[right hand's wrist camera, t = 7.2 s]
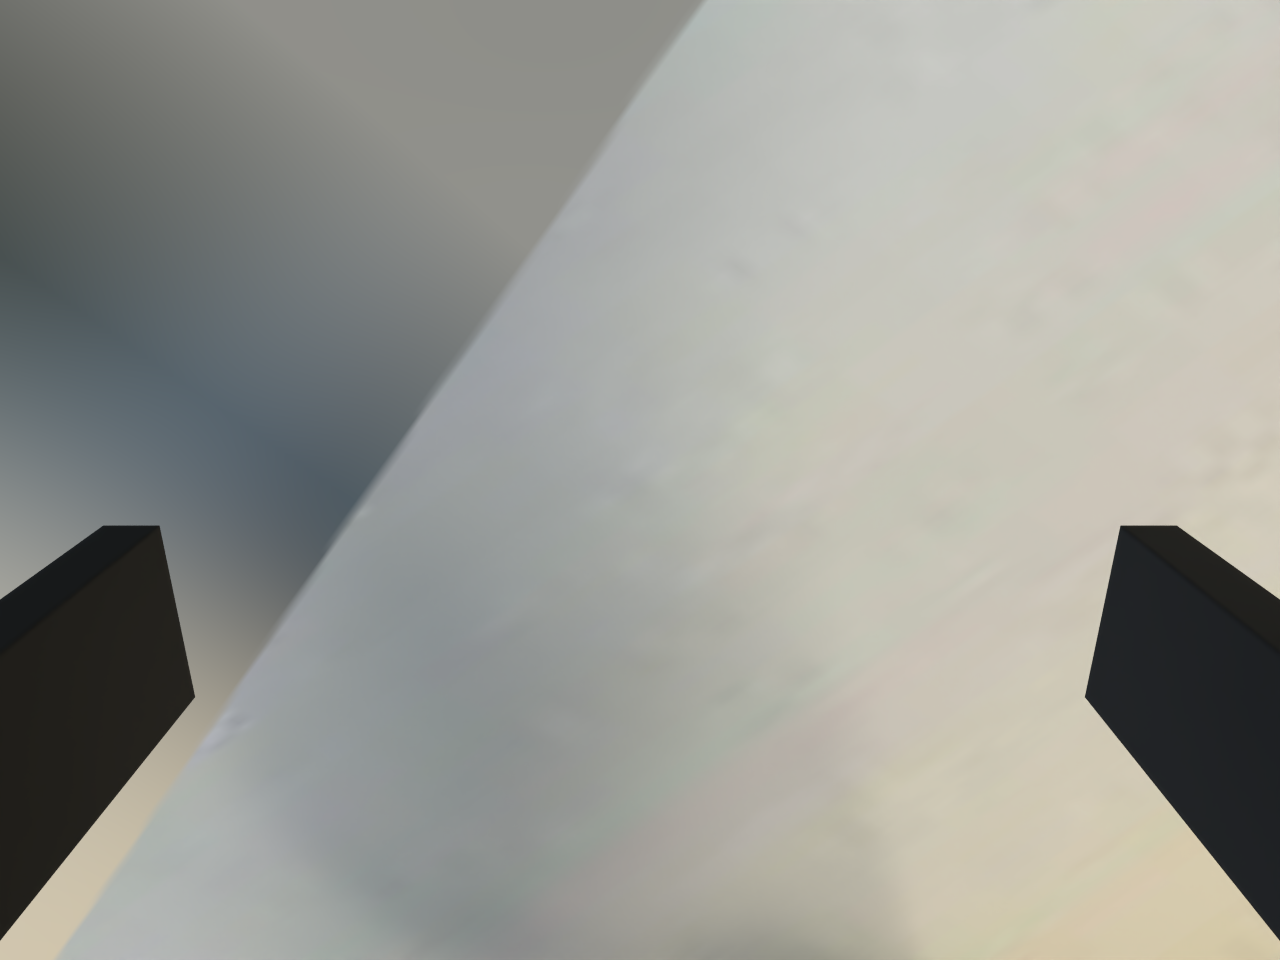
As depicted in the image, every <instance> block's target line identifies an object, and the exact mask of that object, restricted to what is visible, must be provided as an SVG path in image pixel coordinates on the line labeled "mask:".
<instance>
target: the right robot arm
mask: <svg viewBox="0 0 1280 960" xmlns="http://www.w3.org/2000/svg"><path fill="white" fill-rule="evenodd" d="M194 698H195V695H194V690H193V685H192V680H191V675H190V670H189V666H188V661H187V656H186V651H185V646H184V642H183V637H182V632H181V627H180V622H179V617H178V613H177V608H176V603H175V598H174V594H173V589H172V584H171V579H170V574H169V569H168V565H167V560H166V555H165V550H164V545H163V540H162V536H161V531H160V526H102V527H101V528H99V529H98V530H97V531H95V532H94V533H92V534H91V535H90V536H88V537H87V538H85V539H84V540H83V541H81V542H80V543H79V544H77V545H76V546H74V547H73V548H72V549H70V550H69V551H67V552H66V553H64V554H63V555H62V556H60V557H59V558H58V559H56V560H55V561H53V562H52V563H51V564H49V565H48V566H46V567H45V568H44V569H42V570H41V571H39V572H38V573H37V574H35V575H34V576H32V577H31V578H30V579H28V580H27V581H25V582H24V583H23V584H21V585H20V586H18V587H17V588H16V589H14V590H13V591H12V592H10V593H9V594H7V595H6V596H5V597H3V598H2V599H0V940H1V939H2V938H3V936H4V935H5V934H6V933H7V931H8V930H9V929H10V928H11V926H12V925H13V924H14V923H15V921H16V920H17V919H18V918H19V916H20V915H21V914H22V913H23V911H24V910H25V909H26V908H27V906H28V905H29V904H30V903H31V901H32V900H33V899H34V898H35V896H36V895H37V894H38V893H39V891H40V890H41V889H42V888H43V886H44V885H45V884H46V883H47V881H48V880H49V879H50V878H51V876H52V875H53V874H54V873H55V871H56V870H57V869H58V868H59V866H60V865H61V864H62V863H63V861H64V860H65V859H66V858H67V856H68V855H69V854H70V853H71V851H72V850H73V849H74V848H75V846H76V845H77V844H78V843H79V841H80V840H81V839H82V838H83V836H84V835H85V834H86V833H87V831H88V830H89V829H90V828H91V826H92V825H93V824H94V823H95V821H96V820H97V819H98V818H99V816H100V815H101V814H102V813H103V811H104V810H105V809H106V808H107V806H108V805H109V804H110V803H111V801H112V800H113V799H114V798H115V796H116V795H117V794H118V793H119V791H120V790H121V789H122V788H123V786H124V785H125V784H126V783H127V781H128V780H129V779H130V778H131V776H132V775H133V774H134V773H135V771H136V770H137V769H138V768H139V766H140V765H141V764H142V763H143V761H144V760H145V759H146V758H147V756H148V755H149V754H150V753H151V751H152V750H153V749H154V748H155V746H156V745H157V744H158V743H159V741H160V740H161V739H162V738H163V736H164V735H165V734H166V733H167V731H168V730H169V729H170V728H171V726H172V725H173V724H174V723H175V721H176V720H177V719H178V718H179V716H180V715H181V714H182V713H183V711H184V710H185V709H186V708H187V706H188V705H189V704H190V703H191V701H192V700H193V699H194ZM1085 698H1086V699H1087V700H1088V701H1089V703H1090V704H1091V705H1092V706H1093V708H1094V709H1095V710H1096V711H1097V713H1098V714H1099V715H1100V716H1101V718H1102V719H1103V720H1104V721H1105V723H1106V724H1107V725H1108V726H1109V728H1110V729H1111V730H1112V731H1113V733H1114V734H1115V735H1116V736H1117V738H1118V739H1119V740H1120V741H1121V743H1122V744H1123V745H1124V746H1125V748H1126V749H1127V750H1128V751H1129V753H1130V754H1131V755H1132V756H1133V758H1134V759H1135V760H1136V761H1137V763H1138V764H1139V765H1140V766H1141V768H1142V769H1143V770H1144V771H1145V773H1146V774H1147V775H1148V776H1149V778H1150V779H1151V780H1152V781H1153V783H1154V784H1155V785H1156V786H1157V788H1158V789H1159V790H1160V791H1161V793H1162V794H1163V795H1164V796H1165V798H1166V799H1167V800H1168V801H1169V803H1170V804H1171V805H1172V806H1173V808H1174V809H1175V810H1176V811H1177V813H1178V814H1179V815H1180V816H1181V818H1182V819H1183V820H1184V821H1185V823H1186V824H1187V825H1188V826H1189V828H1190V829H1191V830H1192V831H1193V833H1194V834H1195V835H1196V836H1197V838H1198V839H1199V840H1200V841H1201V843H1202V844H1203V845H1204V846H1205V848H1206V849H1207V850H1208V851H1209V853H1210V854H1211V855H1212V856H1213V858H1214V859H1215V860H1216V861H1217V863H1218V864H1219V865H1220V866H1221V868H1222V869H1223V870H1224V871H1225V873H1226V874H1227V875H1228V876H1229V878H1230V879H1231V880H1232V881H1233V883H1234V884H1235V885H1236V886H1237V888H1238V889H1239V890H1240V891H1241V893H1242V894H1243V895H1244V896H1245V898H1246V899H1247V900H1248V901H1249V903H1250V904H1251V905H1252V906H1253V908H1254V909H1255V910H1256V911H1257V913H1258V914H1259V915H1260V916H1261V918H1262V919H1263V920H1264V921H1265V923H1266V924H1267V925H1268V926H1269V928H1270V929H1271V930H1272V931H1273V933H1274V934H1275V935H1276V936H1277V938H1278V939H1279V940H1280V599H1278V598H1277V597H1275V596H1274V595H1273V594H1271V593H1270V592H1269V591H1267V590H1266V589H1264V588H1263V587H1262V586H1260V585H1259V584H1257V583H1256V582H1255V581H1253V580H1252V579H1250V578H1249V577H1248V576H1246V575H1245V574H1243V573H1242V572H1241V571H1239V570H1238V569H1236V568H1235V567H1234V566H1232V565H1231V564H1229V563H1228V562H1227V561H1225V560H1224V559H1222V558H1221V557H1220V556H1218V555H1217V554H1216V553H1214V552H1213V551H1211V550H1210V549H1209V548H1207V547H1206V546H1204V545H1203V544H1202V543H1200V542H1199V541H1197V540H1196V539H1195V538H1193V537H1192V536H1190V535H1189V534H1188V533H1186V532H1185V531H1183V530H1182V529H1181V528H1179V527H1178V526H1120V531H1119V536H1118V540H1117V545H1116V550H1115V555H1114V560H1113V565H1112V569H1111V574H1110V579H1109V584H1108V589H1107V593H1106V598H1105V603H1104V608H1103V613H1102V617H1101V622H1100V627H1099V632H1098V637H1097V642H1096V646H1095V651H1094V656H1093V661H1092V666H1091V670H1090V675H1089V680H1088V685H1087V690H1086V694H1085Z"/></svg>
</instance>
